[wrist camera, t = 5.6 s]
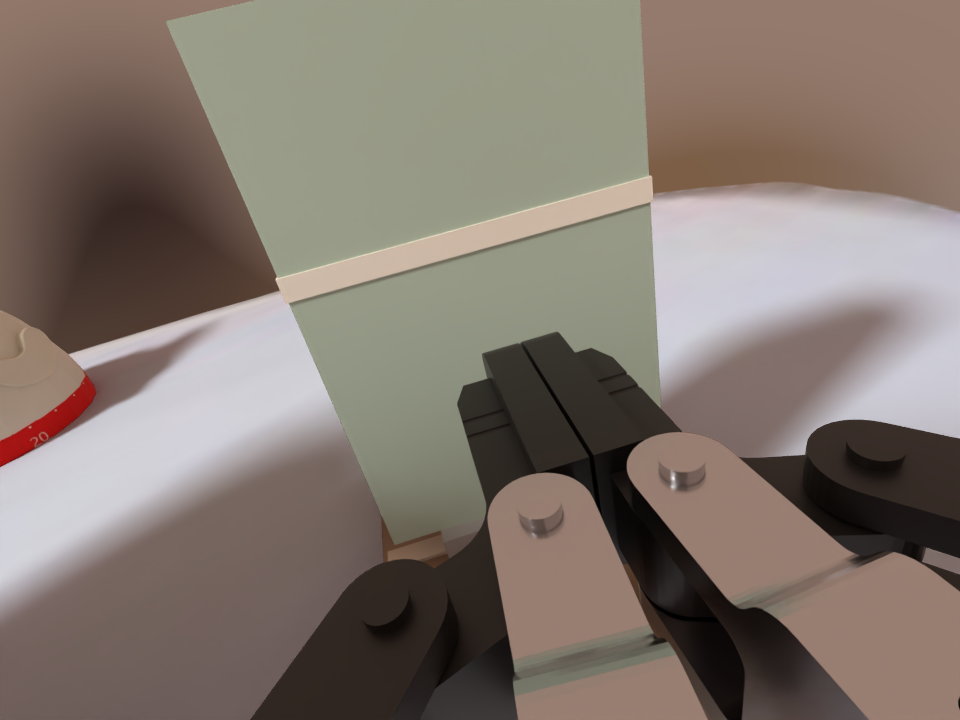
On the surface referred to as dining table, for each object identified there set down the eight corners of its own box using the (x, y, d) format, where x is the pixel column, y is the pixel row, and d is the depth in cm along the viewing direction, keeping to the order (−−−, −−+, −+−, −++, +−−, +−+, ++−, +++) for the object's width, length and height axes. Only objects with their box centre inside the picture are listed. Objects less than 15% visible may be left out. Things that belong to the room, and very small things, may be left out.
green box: (674, 500, 17) (650, -99, 10) (406, 587, 16) (153, 19, 9) (621, 430, 21) (572, -49, 13) (398, 500, 20) (211, 38, 12)
